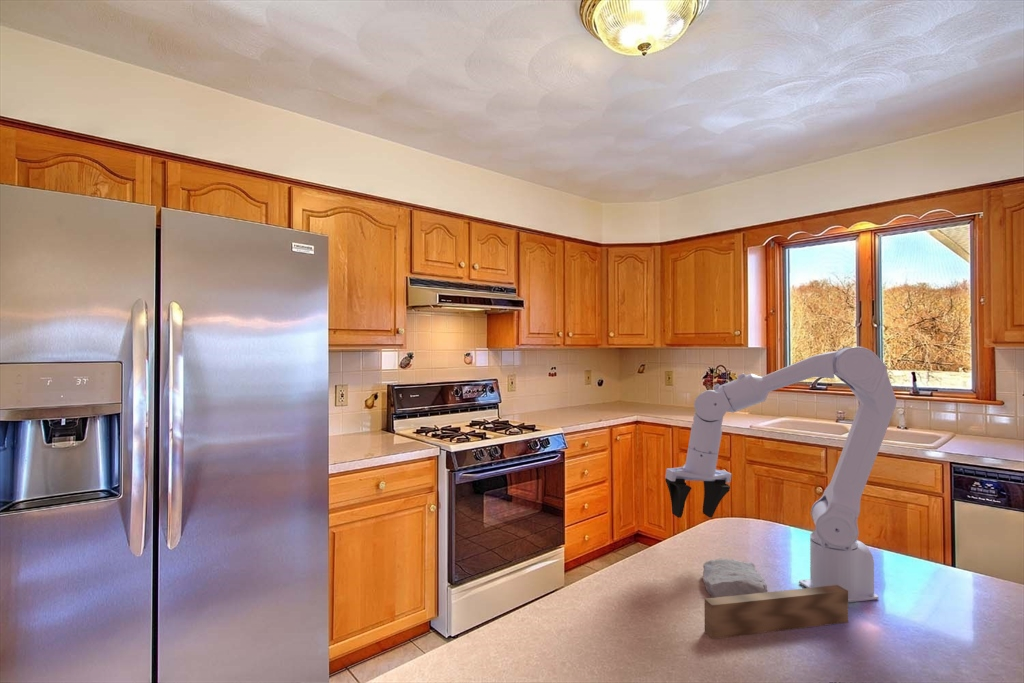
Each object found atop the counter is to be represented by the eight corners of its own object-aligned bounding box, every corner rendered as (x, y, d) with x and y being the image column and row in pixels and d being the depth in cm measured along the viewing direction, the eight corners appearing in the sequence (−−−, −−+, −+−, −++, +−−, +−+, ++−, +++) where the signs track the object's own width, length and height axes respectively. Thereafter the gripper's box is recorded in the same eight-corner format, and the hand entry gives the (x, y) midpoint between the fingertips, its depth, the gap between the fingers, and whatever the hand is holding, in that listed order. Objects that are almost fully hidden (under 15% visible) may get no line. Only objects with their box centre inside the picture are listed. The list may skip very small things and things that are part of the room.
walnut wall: (837, 615, 81) (837, 585, 81) (848, 622, 79) (848, 590, 79) (704, 631, 77) (704, 598, 77) (712, 638, 75) (712, 605, 75)
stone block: (712, 613, 85) (774, 608, 84) (706, 585, 86) (768, 578, 84) (701, 584, 97) (755, 578, 95) (695, 559, 97) (749, 553, 96)
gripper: (717, 445, 106) (707, 507, 106) (660, 442, 101) (650, 507, 101) (743, 455, 99) (731, 521, 100) (683, 452, 94) (671, 522, 95)
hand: (692, 515), depth 100 cm, fingers open, 7 cm apart
